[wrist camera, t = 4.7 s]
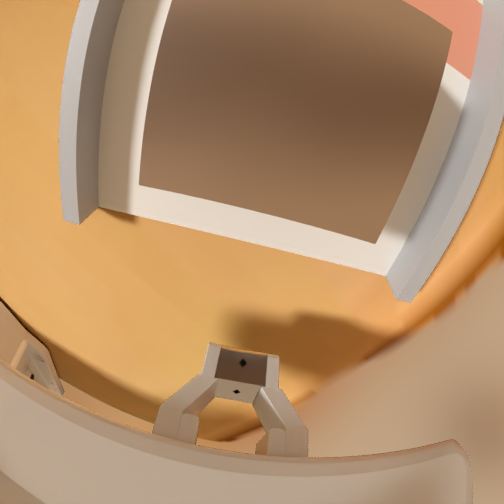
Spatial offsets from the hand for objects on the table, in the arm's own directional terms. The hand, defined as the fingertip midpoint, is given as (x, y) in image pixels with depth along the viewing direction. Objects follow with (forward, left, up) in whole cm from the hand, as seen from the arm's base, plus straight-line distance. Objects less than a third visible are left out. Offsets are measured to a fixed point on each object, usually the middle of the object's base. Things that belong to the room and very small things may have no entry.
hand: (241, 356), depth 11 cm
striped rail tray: (+19, +1, -4) cm, 20 cm away
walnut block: (+10, +1, -4) cm, 11 cm away
